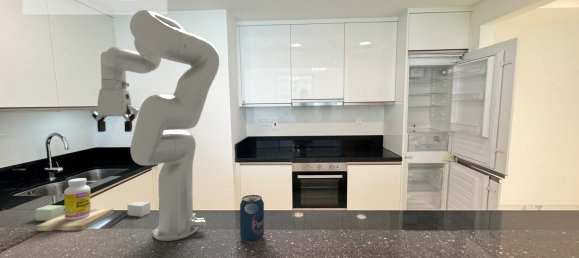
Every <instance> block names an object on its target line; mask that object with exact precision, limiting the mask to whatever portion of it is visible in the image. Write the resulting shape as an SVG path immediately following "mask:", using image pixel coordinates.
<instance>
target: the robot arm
mask: <svg viewBox="0 0 579 258" xmlns="http://www.w3.org/2000/svg"><path fill="white" fill-rule="evenodd" d="M129 29H130V33H131V35H132V37H133V38H134V40H133V42H134V43H133V44H134V47H135V50H136V51H134V50H129V49H125V48H120V47H116V46H113V47H110V48H108V49H107V50H106V51H102V52H101V54H100V81H101V83H100V84H101V88H99V92H98V96H97V105H96V106H94V107H92V108H90V109H89V112H90V114H91V117H92V118H94V120H95V122H96V123H97V124H96V125H97V126H96V127H97V132H98V133H104V132H105V133H106V132H107V131H106V130H107V127H106V119H107V117H122V118H123V119H124V120H125V121H124V132H125V133H129V132H130V133H131V132H133V135H132V139H131V142H130V143H131V144H130V155H131V158H132V160H133V161H134V162H135V163H136V164H138V165H139V166H154V165H159V164H163V165H162V167H161V169H160V171H159V173H158V177H157V178H158V180H157V182H158V185H157V186H158V191H157V192H158V226H157V227H156V228H155V229H153V232H152V234H153V238H154V239H155V240H157V241H162V242H168V241H169V242H171V241H172V242H173V241H177V240H181V239H185V238H188V237H190V236H192V235H193V234H195V233H196V232H197V231H198V230H199V228H206V225H207V220H205V217H201V218H200V217H199V218H198V217H197V213H194V211H193V208H194V207H193V202H194V201H193V200H194V199H193V198H194V197H193V167H194V166H193V165H194V158H195V153H196V139H195V137H194V135H193V134H192V133H190V132H189V131H187V130H191V129H194V128H195V127H196V126H197V125H198V124H199V121H200V119H201V116H202V112H203V110H204V106H205V103H206V100H207V97H208V93H209V91H210V89H211V86H212V84H213V83H214V80H215V78H216V76H217V75H218V74H217V73H218V71H219V69H220V68H219V67H220V55H219V52H218V50H217V48H216V47H215V46H214V45H213V43H212V42H210V41H208V40H206V39H204V38H202V37H200V36H197V35H195V34H192V33H190V32H186V31H185V30H184V28H183V26H182V25H180V24H179V23H178V22H177V21H175V20H173V19H170V18H168V17H165V16H163V15H161V14H158V13H156V12H153V11H151V10H147V9H141V10H139V11H137V12H135V13H134V14H133V15H132V17H131V19H130V22H129ZM162 59H164V60H167V61H171V62H175V63H180V64H182V65H183V64H185V65H188V66H190V67H189V68H188V69H187V70H186V71H185V72H184V73H183V74H182V75H181V76H180V77H179V79H178V80H177V83H176V87H175V91H174V93H173V94H171V95H169V94H168V95H167V94H153V95H150V96H148V97H147V98H146V99H144V101H143V102H142V103H141V106H140V108H139V109H138V108H136V107H134V106H132V98H131V94H130V91H129V90H128V89H127V88H128V87H130V83H128V82H127V73H126V72H129V73H130V72H131V73H136V74H148V73H151V72H154V71H155V70H157V69H158V68H159V66H160V64H161V61H162ZM135 119H136V122H135V126H134V130H133V131H132V129H133V122H134V120H135Z"/></svg>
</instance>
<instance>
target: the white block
mask: <svg viewBox="0 0 579 258" xmlns="http://www.w3.org/2000/svg"><path fill="white" fill-rule="evenodd" d="M150 213H151V202H150V201H138V200H136V201H134V202H131V203H128V204H127V216H129V217H130V216H131V217H133V216H134V217H143V216H144V217H145V215H148V214H150Z"/></svg>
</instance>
